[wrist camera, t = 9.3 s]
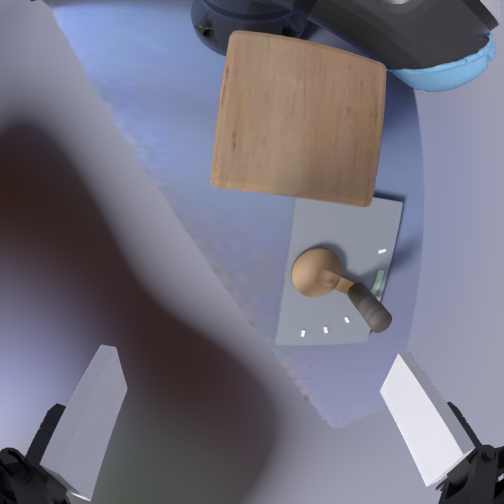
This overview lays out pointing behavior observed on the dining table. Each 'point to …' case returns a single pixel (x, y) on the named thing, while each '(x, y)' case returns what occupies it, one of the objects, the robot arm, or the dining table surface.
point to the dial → (337, 285)
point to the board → (353, 267)
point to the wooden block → (298, 120)
